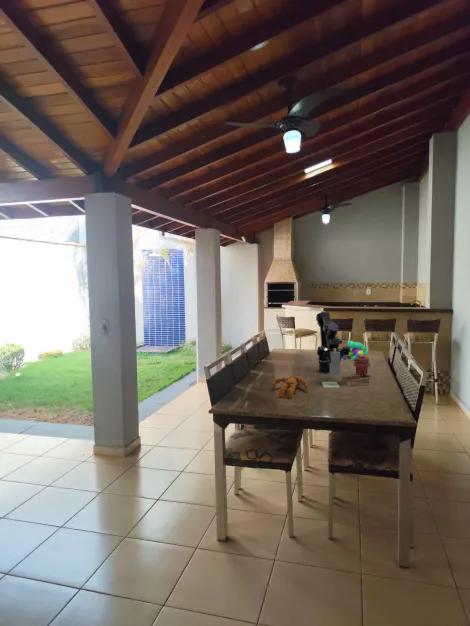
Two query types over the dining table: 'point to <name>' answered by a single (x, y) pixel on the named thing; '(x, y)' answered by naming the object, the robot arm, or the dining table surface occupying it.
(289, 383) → the toy
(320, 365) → the robot arm
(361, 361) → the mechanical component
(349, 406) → the dining table surface
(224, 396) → the dining table surface
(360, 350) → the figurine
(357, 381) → the walnut rack
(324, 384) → the sage mat
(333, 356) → the slate block
